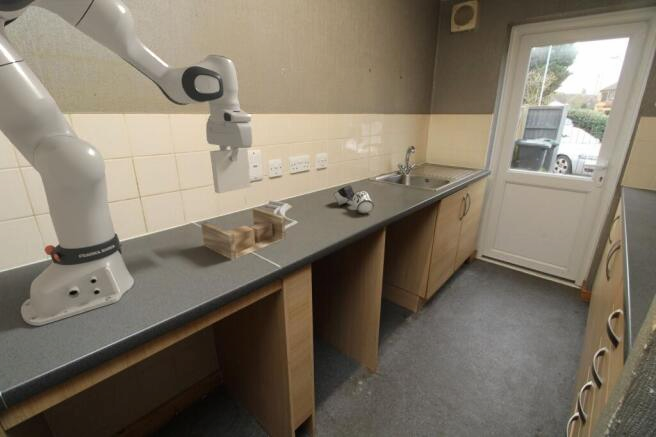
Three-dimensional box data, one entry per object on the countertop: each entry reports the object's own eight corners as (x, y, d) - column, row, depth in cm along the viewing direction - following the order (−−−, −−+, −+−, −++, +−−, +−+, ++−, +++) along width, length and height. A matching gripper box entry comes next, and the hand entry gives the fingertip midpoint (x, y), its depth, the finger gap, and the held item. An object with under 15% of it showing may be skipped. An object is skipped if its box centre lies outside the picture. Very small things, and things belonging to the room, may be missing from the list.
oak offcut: (234, 253, 98) (232, 236, 96) (225, 249, 101) (223, 232, 99) (255, 245, 103) (253, 228, 101) (246, 241, 106) (244, 225, 104)
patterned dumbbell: (378, 213, 140) (379, 192, 137) (361, 217, 136) (361, 195, 132) (346, 200, 161) (347, 181, 157) (330, 203, 156) (330, 184, 152)
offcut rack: (232, 264, 94) (229, 235, 91) (204, 249, 104) (201, 223, 101) (285, 241, 110) (284, 216, 107) (257, 231, 120) (255, 207, 117)
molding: (265, 205, 154) (264, 200, 153) (289, 203, 157) (289, 198, 156) (274, 237, 115) (273, 230, 114) (306, 234, 118) (305, 227, 117)
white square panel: (219, 193, 98) (214, 151, 94) (214, 192, 99) (209, 151, 95) (250, 186, 107) (247, 148, 102) (246, 185, 108) (242, 147, 104)
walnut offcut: (258, 242, 105) (257, 229, 104) (251, 239, 108) (249, 226, 106) (272, 237, 110) (272, 224, 109) (265, 234, 113) (264, 221, 111)
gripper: (198, 114, 99) (204, 158, 104) (236, 115, 87) (240, 165, 91) (216, 114, 104) (221, 156, 108) (254, 115, 91) (257, 162, 96)
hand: (230, 160), depth 100 cm, fingers closed on white square panel, 2 cm apart
